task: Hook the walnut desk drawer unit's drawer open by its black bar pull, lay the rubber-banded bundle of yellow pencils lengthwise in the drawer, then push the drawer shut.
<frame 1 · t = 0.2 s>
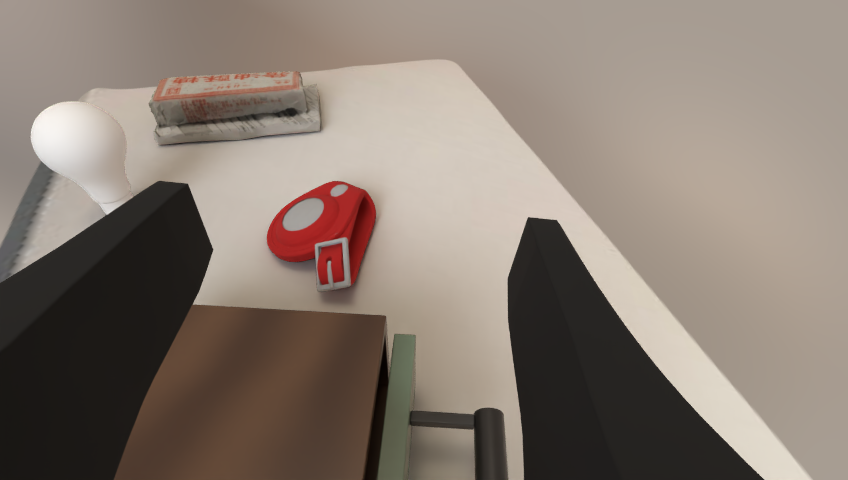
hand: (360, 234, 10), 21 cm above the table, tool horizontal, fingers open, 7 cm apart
lightbulb: (126, 217, 42), on the table
packaged product: (245, 120, 55), on the table
tracker holder: (322, 251, 39), on the table
drawer: (303, 471, 23), point 4 cm above the table, slide at 0.5 cm
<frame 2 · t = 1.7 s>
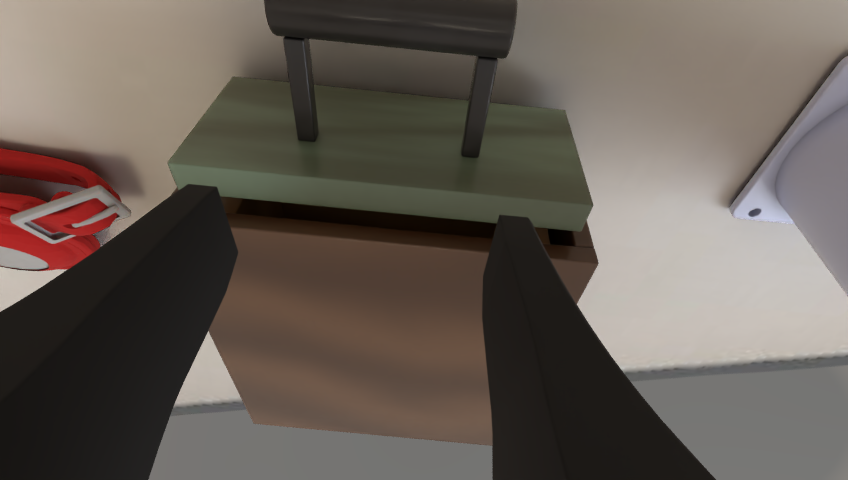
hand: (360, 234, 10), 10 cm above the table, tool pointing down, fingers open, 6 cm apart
cabinet: (394, 247, 26), on the table
tracker holder: (49, 198, 25), on the table
drawer: (388, 235, 20), point 4 cm above the table, slide at 0.5 cm
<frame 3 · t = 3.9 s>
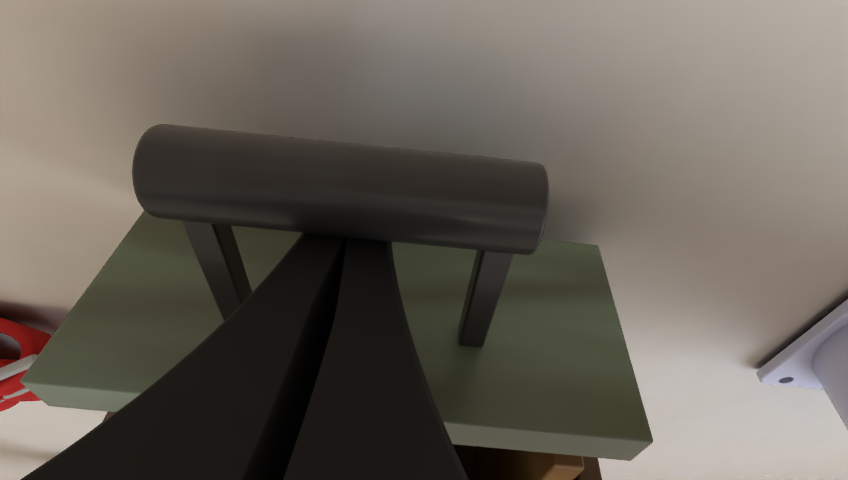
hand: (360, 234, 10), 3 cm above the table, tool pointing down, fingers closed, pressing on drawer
cabinet: (377, 387, 23), on the table
drawer: (364, 393, 15), point 4 cm above the table, slide at 3.1 cm, touching gripper
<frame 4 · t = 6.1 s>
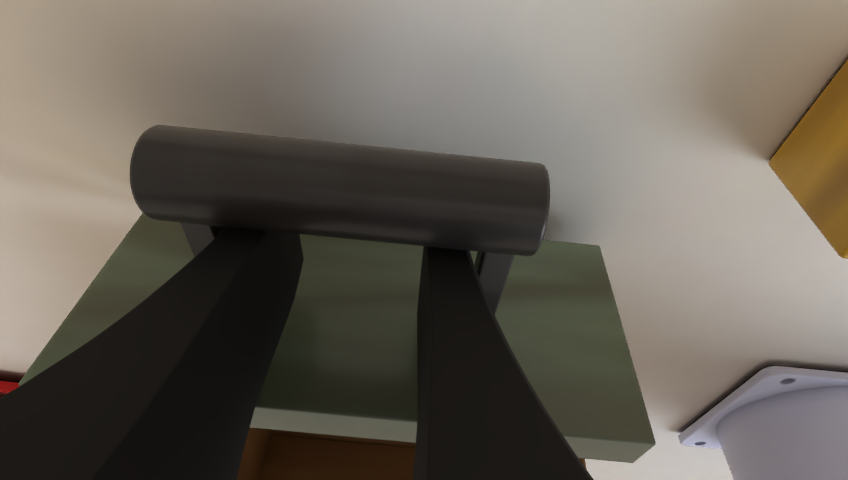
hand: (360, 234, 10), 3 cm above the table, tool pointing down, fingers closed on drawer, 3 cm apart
drawer: (364, 394, 15), point 4 cm above the table, slide at 10.1 cm, touching gripper
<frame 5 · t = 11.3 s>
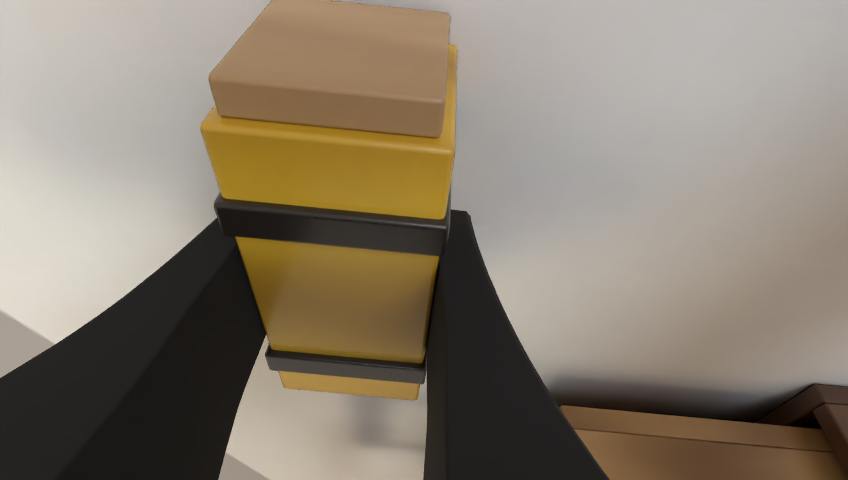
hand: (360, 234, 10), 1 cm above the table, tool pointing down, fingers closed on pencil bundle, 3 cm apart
pencil bundle: (368, 192, 11), on the table, touching gripper
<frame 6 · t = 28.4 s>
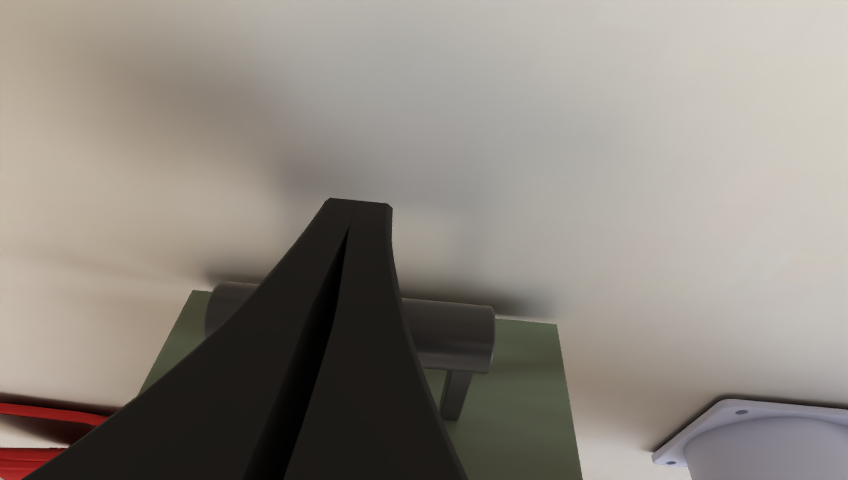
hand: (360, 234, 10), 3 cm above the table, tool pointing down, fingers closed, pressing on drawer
tracker holder: (87, 423, 29), on the table
drawer: (366, 441, 18), point 4 cm above the table, slide at 9.1 cm, touching gripper, pencil bundle
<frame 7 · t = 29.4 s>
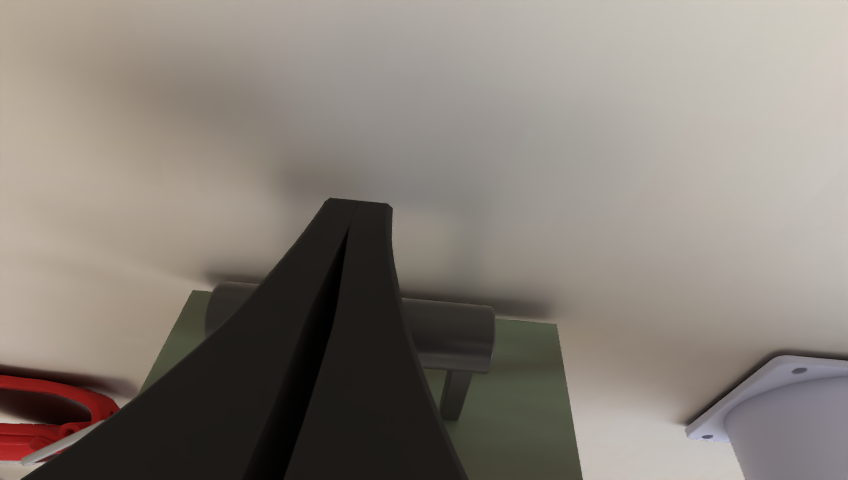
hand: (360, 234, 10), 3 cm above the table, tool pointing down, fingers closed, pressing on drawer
tracker holder: (56, 396, 27), on the table
drawer: (366, 441, 18), point 4 cm above the table, slide at 5.1 cm, touching gripper, pencil bundle
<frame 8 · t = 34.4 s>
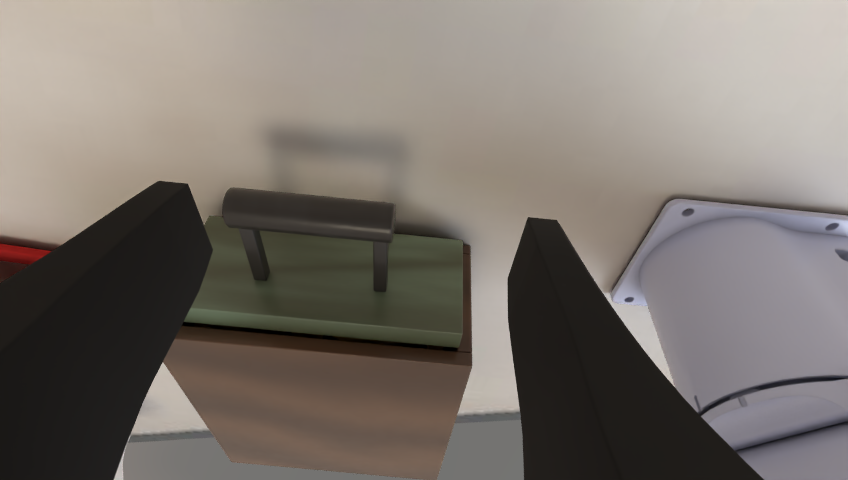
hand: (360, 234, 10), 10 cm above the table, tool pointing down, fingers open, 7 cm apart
cabinet: (347, 316, 31), on the table
tracker holder: (62, 278, 30), on the table
drawer: (332, 329, 25), point 4 cm above the table, slide at 0.0 cm, touching cabinet, pencil bundle
pencil bundle: (338, 313, 27), point 2 cm above the table, touching drawer
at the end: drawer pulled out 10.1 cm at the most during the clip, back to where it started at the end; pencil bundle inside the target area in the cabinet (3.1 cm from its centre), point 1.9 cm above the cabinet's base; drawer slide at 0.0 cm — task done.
